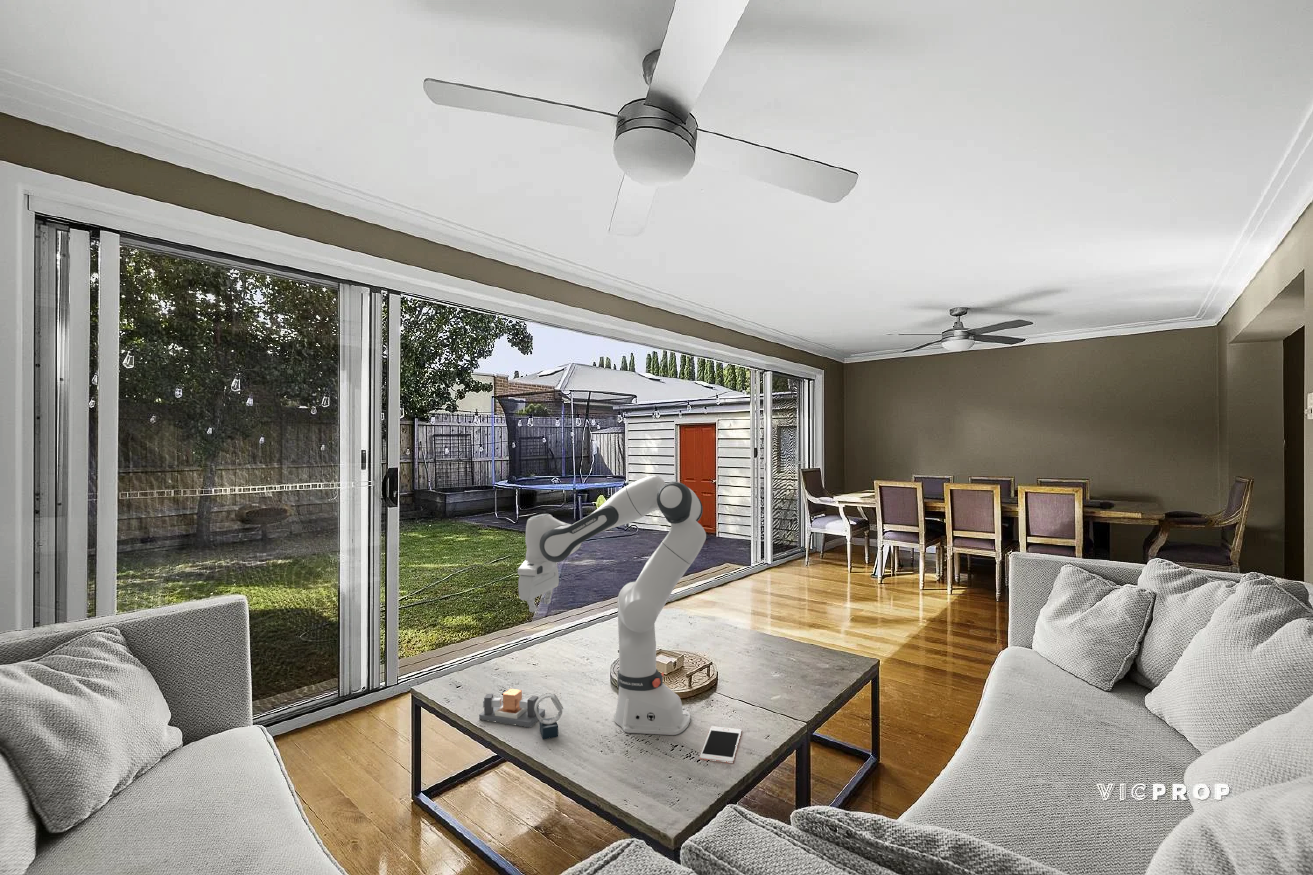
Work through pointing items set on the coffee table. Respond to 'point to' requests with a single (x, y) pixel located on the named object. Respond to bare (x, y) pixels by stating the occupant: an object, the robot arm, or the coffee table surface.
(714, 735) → the cell phone
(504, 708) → the block
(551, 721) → the watch
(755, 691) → the coffee table surface
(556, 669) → the coffee table surface
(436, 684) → the coffee table surface
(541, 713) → the stand
